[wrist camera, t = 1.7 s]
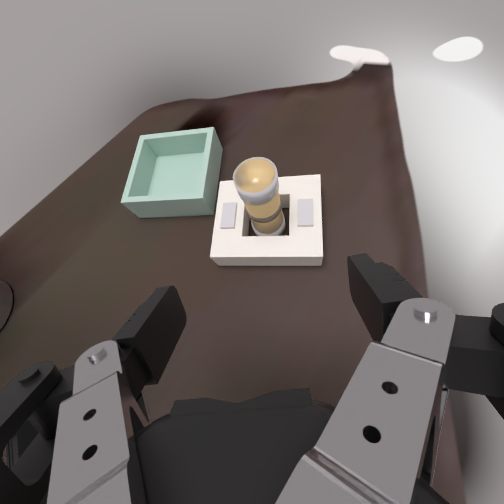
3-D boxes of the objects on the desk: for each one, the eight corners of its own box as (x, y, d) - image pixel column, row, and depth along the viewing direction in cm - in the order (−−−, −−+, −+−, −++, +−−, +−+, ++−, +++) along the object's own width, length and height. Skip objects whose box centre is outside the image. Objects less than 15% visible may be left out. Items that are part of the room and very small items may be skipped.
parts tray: (139, 217, 36) (120, 202, 32) (155, 155, 39) (140, 135, 36) (213, 214, 33) (202, 198, 30) (222, 149, 37) (213, 127, 34)
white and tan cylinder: (253, 241, 31) (230, 195, 22) (255, 213, 32) (235, 158, 23) (285, 241, 30) (276, 192, 21) (285, 212, 31) (277, 155, 22)
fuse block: (218, 265, 31) (208, 255, 27) (227, 194, 34) (219, 179, 31) (321, 265, 28) (323, 255, 25) (318, 189, 32) (320, 172, 28)
